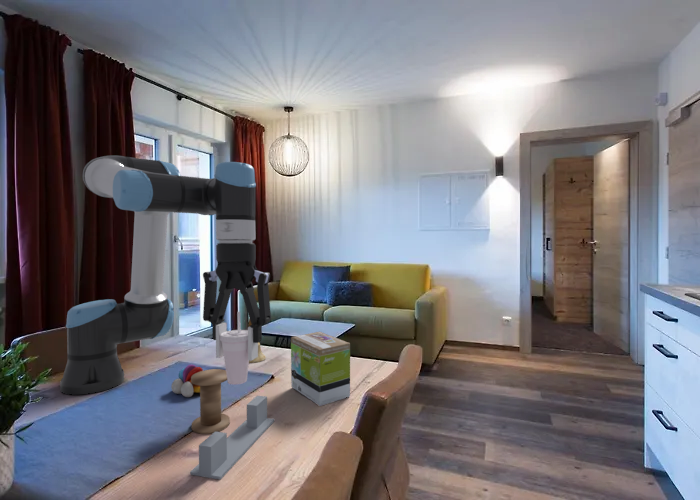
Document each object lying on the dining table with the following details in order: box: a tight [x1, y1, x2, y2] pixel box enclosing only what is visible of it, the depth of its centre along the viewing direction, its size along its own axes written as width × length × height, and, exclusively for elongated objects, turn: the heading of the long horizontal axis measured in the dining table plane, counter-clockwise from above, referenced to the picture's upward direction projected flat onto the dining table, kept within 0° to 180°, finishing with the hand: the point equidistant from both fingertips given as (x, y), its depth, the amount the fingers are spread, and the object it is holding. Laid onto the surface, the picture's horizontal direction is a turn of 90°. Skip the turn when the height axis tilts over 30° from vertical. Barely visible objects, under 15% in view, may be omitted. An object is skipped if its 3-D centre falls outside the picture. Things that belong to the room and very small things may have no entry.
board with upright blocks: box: [189, 395, 275, 480], centre depth 78 cm, size 6×22×6 cm, turn 166°
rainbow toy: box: [170, 364, 204, 398], centre depth 105 cm, size 8×10×7 cm
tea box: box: [290, 331, 351, 407], centre depth 105 cm, size 15×10×15 cm, turn 37°
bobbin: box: [191, 368, 231, 435], centre depth 87 cm, size 8×8×11 cm
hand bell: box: [248, 318, 267, 364], centre depth 133 cm, size 8×8×16 cm
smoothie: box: [220, 311, 250, 386], centre depth 78 cm, size 6×6×14 cm
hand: (237, 356), depth 78 cm, fingers closed on smoothie, 6 cm apart
